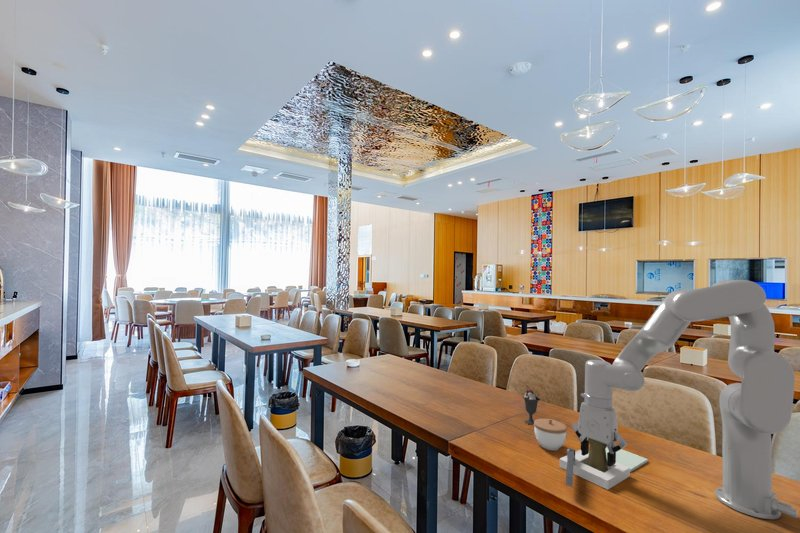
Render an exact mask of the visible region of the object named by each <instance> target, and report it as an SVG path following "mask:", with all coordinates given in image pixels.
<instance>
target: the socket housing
mask: <svg viewBox="0 0 800 533" xmlns="http://www.w3.org/2000/svg"><path fill="white" fill-rule="evenodd" d="M588 456H589V453H588V454H586V455H584V456H583V455H582V454H581V448H580V449H578V450H575V459H574V466H573V475H575V476H577V477H580V478H582V479H584V480H586V481H589V482H591V483H592V484H594V485H597V486H598V487H601V488H602V489H606V490H607V491H608V490H610V489H611V488H613V487H615V486H616V485H618V484H620V483H621V482H623V481H624V480H627V478H629V477H631V476H630V475H631V472H630V468H629V467H626V466H624V465H622V464H619V463H617V462H616V463H615V464H614V465H612V466H611V467H609V466H608V471H606V472H605V473H604V472H602V471H599V470H597V469H595V468H593V467H590V466H588V465H587V463H588ZM567 459H568V458H567V455H565V456H562V457H560V458H559V459H558V460H559V465H558V466H559V468H561V469H562V470H565V471H567Z"/></svg>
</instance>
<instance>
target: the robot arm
mask: <svg viewBox="0 0 800 533" xmlns="http://www.w3.org/2000/svg"><path fill="white" fill-rule="evenodd" d="M766 299H767V295H766V292H765V289H763V287H762V286H761V285H760V284H758V283H756V282H755V281H751V280H747V279H725V280H719V281H717V282H715V283H714V284H712V285H710V286H705V287H700V288H694V289H677V290H674V291H671V292H670V293H668V294H667V295H666V296H665V297H664V299H662V300H661V302H660V304H659V305H658V306H657V308H656V309H655V311H654V312H653V313H652V314H651V316H650V317H649V318H648V320H647V321H646V322H645V324H644V325H643V326H642V327H641V329H640V330H639V331H638V332H637V333H636V334H635V335H634V337H632V338H631V339H630V340H629V342H628V343H627V344H626V345H625V346H624V347H623V348H622V350H621V351H620V353H619V354H618V356H617V357H615V359H614V361H613V362H612V364H611V362H608V361H606V360H601V359H588V360H587V361H585V365H584V392H581V393H580V397H581V398H583V401H582V402H581V404H580V408H579V414H578V421H576V422H574V423H572V424H571V427H572V430H573V431H574V432H575V435H576V436H577V438H578V441H579V442H580V449H581V454H582V455H583V456H584V455H586V454H588V453H589V450H590V444H589V441H588V438H590V439H593V440H596V441H598V442H601V443H604V444H606V445H607V448H608V450H609V452H608V453H607V465H608V466H609V467H611V466H612V465H614V464H615V463H616V452H617V451H619V450H621V449H622V450H623V448H625V447H626V446H627V445H628V443H627V441H626V440H625V439H624V438H623V436H622V435H620V433H619V432H618V422H617V415H616V410H615V408H614V407H613V388H615V389H619V390H622V391H627V392H637V391H639V390H641V389H642V388H643V387H644V385H645V377H644V374H643V372H642V370H643V369H644V368H645V366H646V365H647V363H649V361H650V360H651V359H652V358H654V357H655V356H656V355H658V354H660V353H662V352H663V353H664V352H666V351H667V350H669V349H670V348H672V347H673V346H674V345H675V343H676V342H677V341H678V340H679V338H680V337H681V335H682V334H683V332H685V330H686V329H687V328H688V327H689V325H690V324H691V323H692V322H693V323H694V322H702V321H711V320H716V319H722V318H727V317H728V319H729V322H730V323H729V324H730V339H729V347H728V357H727V364H728V367H729V370H730V371H731V372H732V373H733V374H734V375H736V376H737V377H739V378H741V382H734V383H730V384H728V385H726V386H724V387H723V388H722V390H721V392H720V394H719V399H718V400H719V402H718V403H719V410H720V415H721V416H720V417H721V424H722V425H721V428H722V439H721V440H722V444H721V445H722V451H721V452H722V454H721V455H722V486H719V487H717V488H715V490H714V493H715V497H716V498H717V499H718V500H719V501H720V502H721V503H722V504H724V505H726V506H727V507H728V508H731V509H733V510H735V511H737V512H739V513H742V514H745V515H748V516H751V517H753V518H759V519H763V520H777V519H780V518H781V516H782V514H784V515H787V516H788V517H790V518H794V519H797V518H798V510H797V509H794V508H793V505H792V504H789V503H786V502H783V501H780V500H779V499H777V496H776V495H777V494H776V493H775V492H773V471H772V468H773V467H772V465H773V464H772V463H773V462H772V460H773V458H772V457H773V455H772V453H773V443H772V435H773V434H777V433H779V434H780V433H781V432H782V431H784V430H785V429H786V428H787V427H789V426H788V425H789V424H790V422H791V419H792V413H793V404H794V403H793V402H794V393H795V381H796V380H795V379H796V378H795V377H796V376H795V373H794V369H793V366H792V364H791V363H790V362H789V361H788V360H787V358H785V356H783V355H782V354H780V353H778V352H775V339H776V338H775V329H776V328H775V321H774V318H773V315H772V313H771V312H770V310H769V308H768V307H767V306H766V304H765V303H766ZM616 442H618V444H617V445H616Z"/></svg>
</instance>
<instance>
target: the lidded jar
mask: <svg viewBox="0 0 800 533" xmlns="http://www.w3.org/2000/svg"><path fill="white" fill-rule="evenodd" d="M533 421H534V425H533V426H534V430H533V431H534V436H535V438H536V440H537V442H538V443H539V445H540V447H542V448H543V449H545V450H548V451H559V450H560V448H562V447H563V445H565V443H566V439H567V430H568V427H567V425H566V424H565V423H563V422H561V421H558V420H555V419H552V418H537V419H535V420H533Z"/></svg>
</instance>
